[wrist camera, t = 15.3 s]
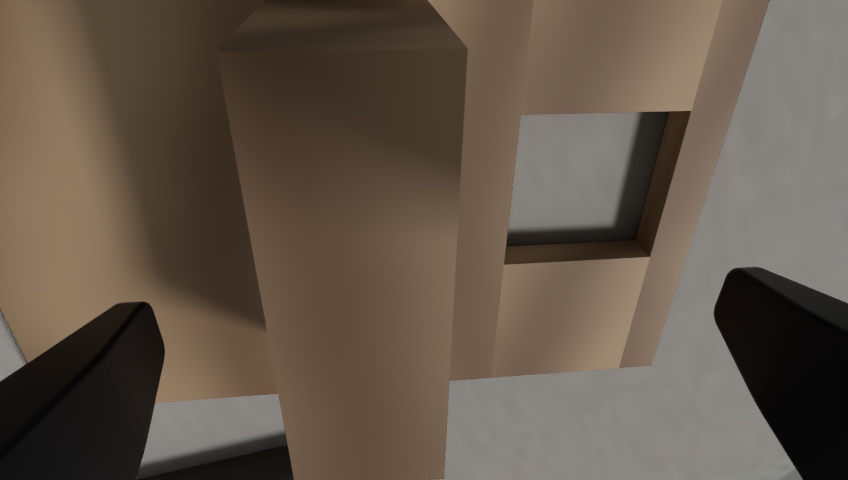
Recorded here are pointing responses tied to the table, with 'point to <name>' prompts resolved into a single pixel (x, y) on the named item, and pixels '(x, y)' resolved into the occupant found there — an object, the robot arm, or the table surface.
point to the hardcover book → (239, 468)
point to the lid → (346, 195)
